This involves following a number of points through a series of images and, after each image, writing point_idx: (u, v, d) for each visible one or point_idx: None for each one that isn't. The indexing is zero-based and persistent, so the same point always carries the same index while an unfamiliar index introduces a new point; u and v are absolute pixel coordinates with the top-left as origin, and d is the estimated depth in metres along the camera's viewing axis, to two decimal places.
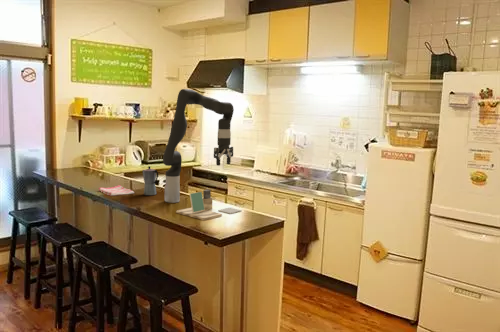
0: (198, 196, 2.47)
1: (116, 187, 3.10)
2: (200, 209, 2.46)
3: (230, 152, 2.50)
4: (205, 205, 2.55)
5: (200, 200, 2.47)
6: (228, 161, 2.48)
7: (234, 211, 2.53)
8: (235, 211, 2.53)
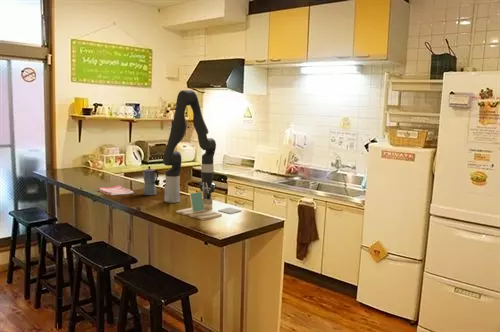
0: (198, 196, 2.47)
1: (116, 187, 3.10)
2: (200, 209, 2.46)
3: None
4: (205, 205, 2.55)
5: (200, 200, 2.47)
6: None
7: (234, 211, 2.53)
8: (235, 211, 2.53)
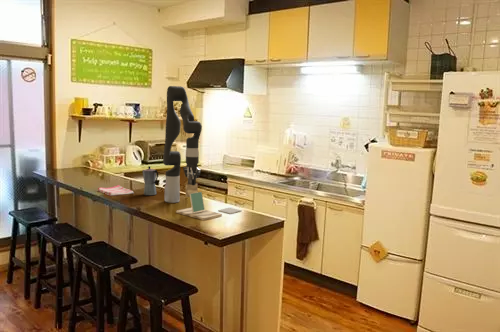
0: (198, 196, 2.47)
1: (115, 187, 3.10)
2: (200, 209, 2.46)
3: None
4: (190, 191, 2.45)
5: (200, 200, 2.47)
6: None
7: (234, 211, 2.53)
8: (235, 211, 2.53)
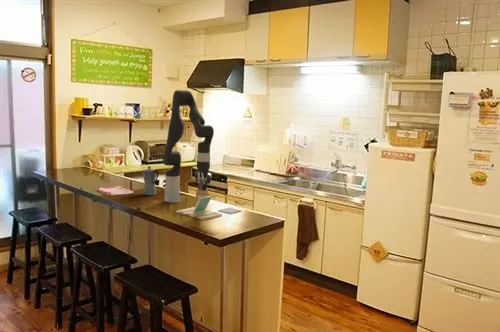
0: (206, 200, 2.43)
1: (115, 187, 3.10)
2: (201, 210, 2.46)
3: None
4: (200, 196, 2.40)
5: (206, 203, 2.44)
6: None
7: (234, 211, 2.53)
8: (235, 211, 2.53)
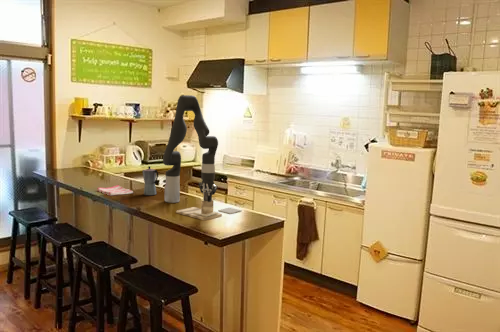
0: None
1: (114, 187, 3.10)
2: None
3: None
4: (206, 208, 2.38)
5: None
6: None
7: (234, 211, 2.53)
8: (235, 211, 2.53)
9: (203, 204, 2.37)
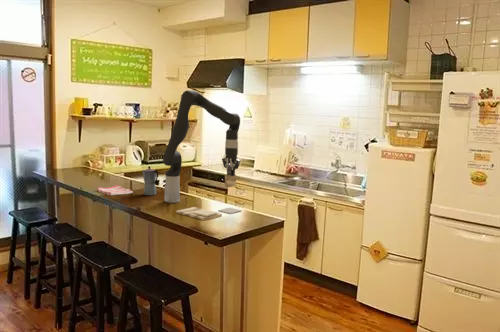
0: None
1: (114, 187, 3.10)
2: None
3: (224, 164, 2.54)
4: (229, 182, 2.51)
5: None
6: None
7: (234, 211, 2.53)
8: (235, 211, 2.53)
9: (227, 178, 2.50)
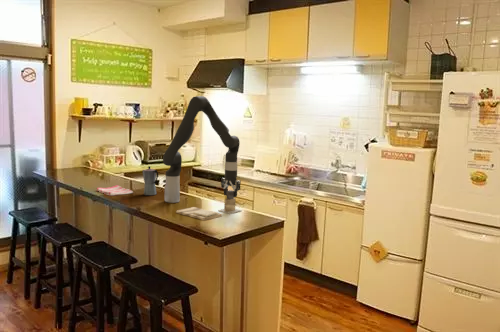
0: None
1: (114, 187, 3.10)
2: None
3: None
4: (228, 206, 2.53)
5: None
6: (226, 192, 2.57)
7: (234, 211, 2.53)
8: (235, 211, 2.53)
9: (226, 202, 2.52)
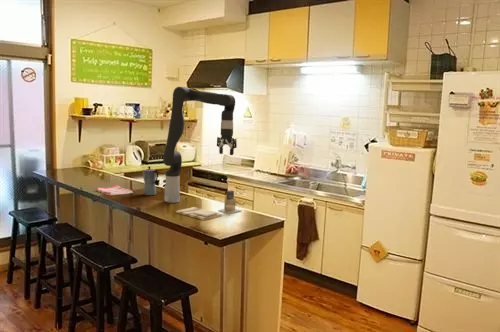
0: None
1: (114, 187, 3.10)
2: None
3: None
4: (228, 206, 2.53)
5: None
6: (222, 151, 2.59)
7: (234, 211, 2.53)
8: (235, 211, 2.53)
9: (226, 202, 2.52)
